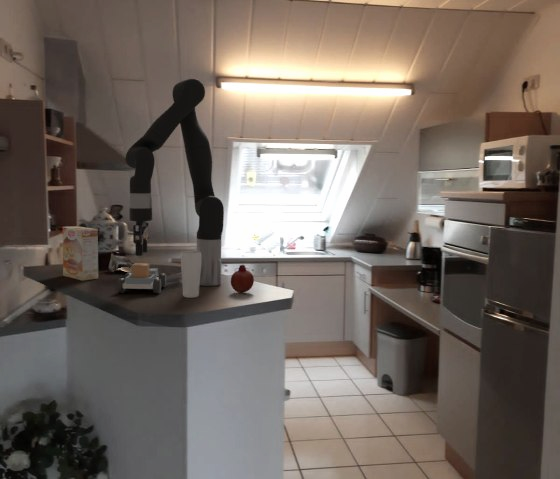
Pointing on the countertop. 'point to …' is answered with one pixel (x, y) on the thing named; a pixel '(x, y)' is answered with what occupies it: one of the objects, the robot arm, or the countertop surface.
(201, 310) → the countertop surface
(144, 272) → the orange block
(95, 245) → the coffeecake box
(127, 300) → the countertop surface
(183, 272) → the drinking glass
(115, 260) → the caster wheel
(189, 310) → the countertop surface
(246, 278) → the fruit
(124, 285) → the chassis
